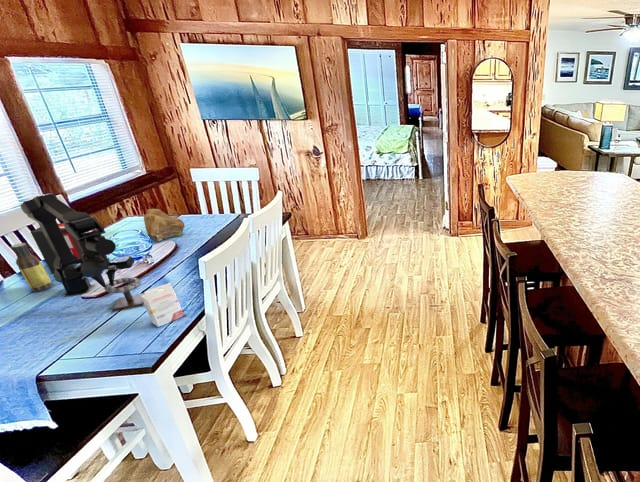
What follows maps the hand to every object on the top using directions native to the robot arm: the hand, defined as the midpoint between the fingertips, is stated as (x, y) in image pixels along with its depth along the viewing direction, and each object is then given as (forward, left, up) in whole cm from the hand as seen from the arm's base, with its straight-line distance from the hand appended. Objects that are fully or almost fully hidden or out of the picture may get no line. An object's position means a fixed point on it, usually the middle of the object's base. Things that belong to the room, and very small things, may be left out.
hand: (108, 286), depth 147 cm
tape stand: (+4, 0, -8) cm, 10 cm away
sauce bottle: (-31, +29, -9) cm, 43 cm away
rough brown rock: (+5, +73, -9) cm, 74 cm away
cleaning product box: (-24, +47, -9) cm, 53 cm away
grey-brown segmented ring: (+4, 0, 0) cm, 4 cm away
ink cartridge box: (+19, -20, -9) cm, 29 cm away
